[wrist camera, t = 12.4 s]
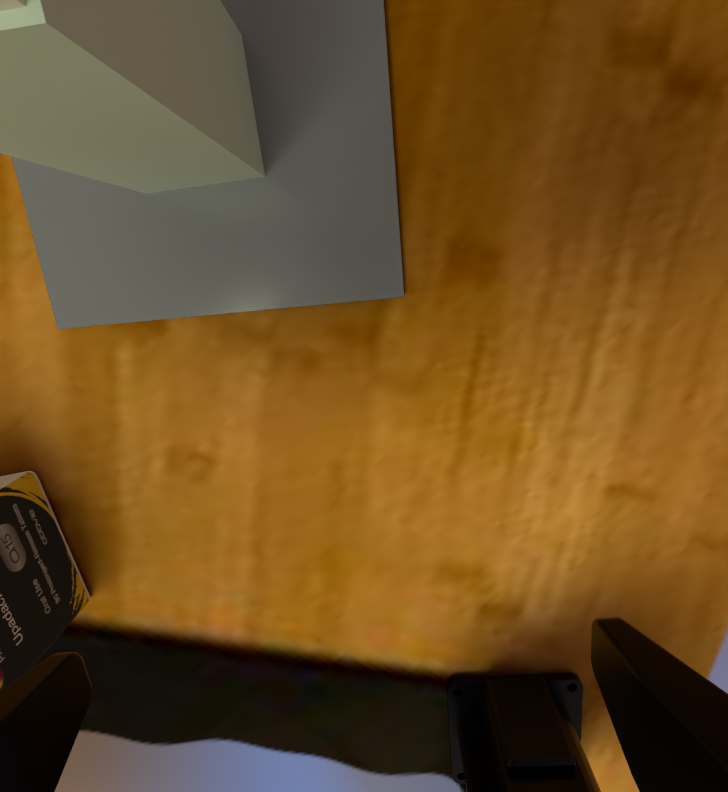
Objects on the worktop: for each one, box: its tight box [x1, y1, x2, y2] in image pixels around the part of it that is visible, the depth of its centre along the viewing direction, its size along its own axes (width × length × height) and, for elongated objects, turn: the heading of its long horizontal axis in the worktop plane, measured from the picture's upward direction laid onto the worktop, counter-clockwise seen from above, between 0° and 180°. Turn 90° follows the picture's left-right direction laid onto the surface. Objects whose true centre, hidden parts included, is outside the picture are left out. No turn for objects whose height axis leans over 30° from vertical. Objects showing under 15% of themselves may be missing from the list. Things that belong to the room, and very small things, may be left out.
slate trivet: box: [12, 0, 404, 329], centre depth 17 cm, size 14×14×1 cm
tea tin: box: [0, 0, 265, 194], centre depth 11 cm, size 4×4×13 cm
